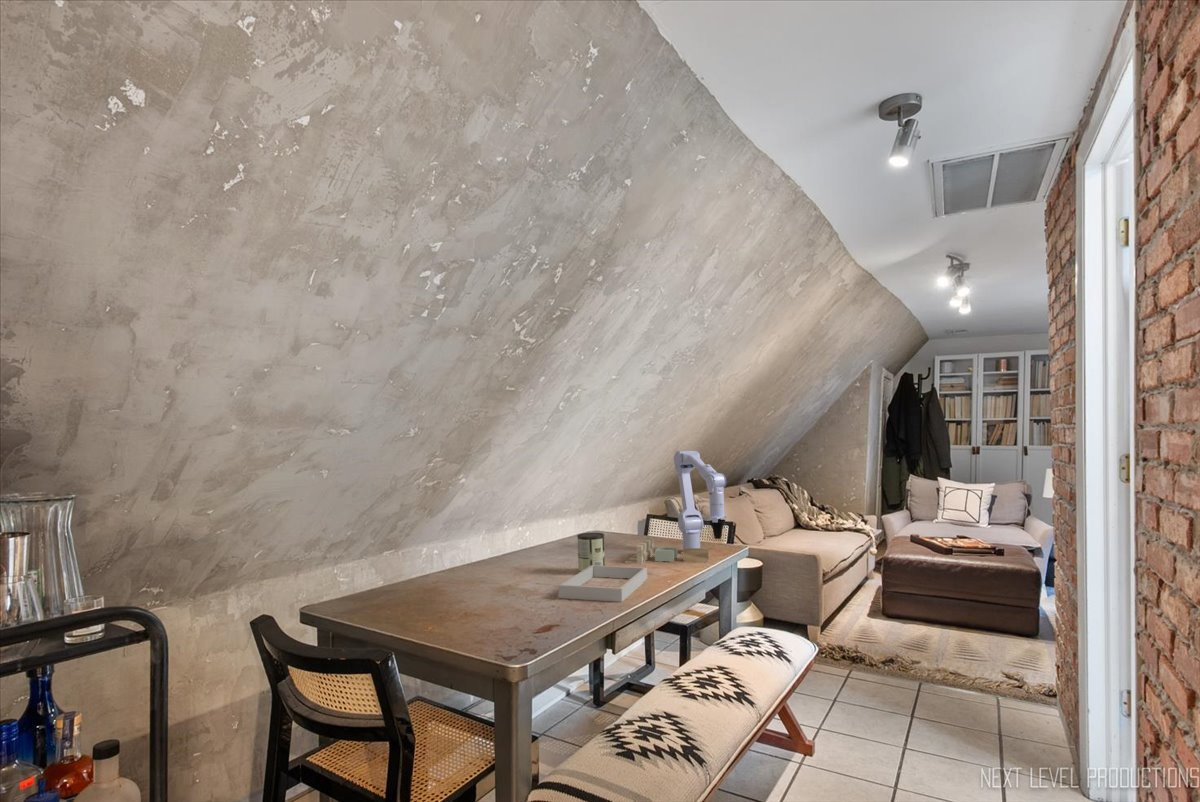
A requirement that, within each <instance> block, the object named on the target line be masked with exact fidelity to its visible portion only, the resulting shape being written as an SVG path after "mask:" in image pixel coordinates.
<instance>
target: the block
mask: <svg viewBox="0 0 1200 802" xmlns="http://www.w3.org/2000/svg"><path fill="white" fill-rule="evenodd" d="M678 551H679V550H678V546H658V547H657V548H656V549H655V550H654V562H655V561H669V562H668V563H674V562H675V559H674V558H677V559H679V556H678V553H679V552H678Z"/></svg>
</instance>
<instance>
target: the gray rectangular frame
mask: <svg viewBox="0 0 1200 802" xmlns="http://www.w3.org/2000/svg"><path fill="white" fill-rule="evenodd" d="M592 577H593V578H604V577H609V578H608V579H610V578H611V579H623V578H628V580H627V581H626V582H625V583H623V584H622V585H621V586H620V587H609V586H607V587H606V586H592V585H591V586H590V585H584V584H586V583H587V582H588V581H590V580H591V579H593V578H592ZM589 579H590V580H589ZM646 579H647V580H648V567H640V566H639V567H638V566H616V565H605V566H598V565H591V566H589V567H588V568H586V569H584V570H583V571H581V572H580V573H579V572H578V573H577V574H575V575H573V576H571V577H569V578H568V579H566V580H565V581H563V582H562V583H560V584H558V598H559V599H568V600H569V599H571V600H583V601H584V600H585V601H587V600H588V601H600V602H601V601H602V602H617V603H622V602H624V601H625V600H626V599H627V598H628V597H629V596H630V595H631V594H632V593H634V592H635V591H636V590H637V589H638V588H639V587H640V586H641V585H642V584H644V583H645V582H646V581H647V580H646ZM645 580H646V581H645ZM586 581H587V582H586ZM644 581H645V582H644ZM643 582H644V583H643Z"/></svg>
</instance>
